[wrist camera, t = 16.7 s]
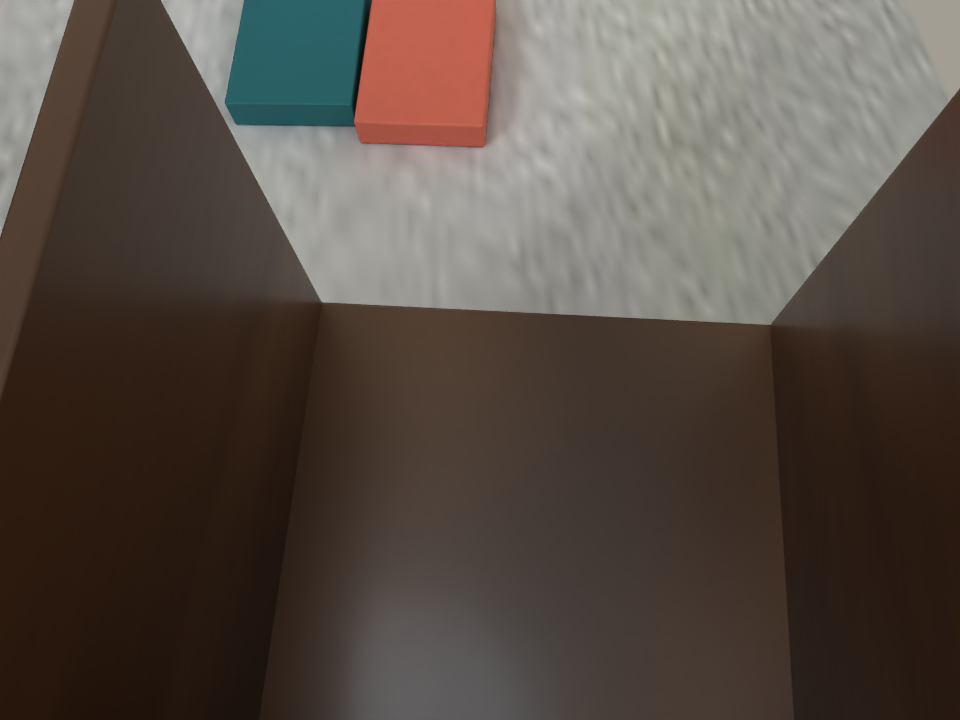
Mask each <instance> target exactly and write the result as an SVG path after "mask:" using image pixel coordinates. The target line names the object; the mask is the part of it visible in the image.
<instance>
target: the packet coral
mask: <svg viewBox="0 0 960 720" xmlns="http://www.w3.org/2000/svg"><path fill="white" fill-rule="evenodd" d="M495 18H496V0H372V4H371V11H370V17H369V24H368V31H367V37H366V44H365V51H364V57H363V64H362V71H361V78H360V84H359V91H358V98H357V104H356V111H355V118H354V123H355V127H356V130H357V133H358V136H359V140H360V142H362V143H389V144H418V145H447V146H475V147H483V146H484V145H485V142H486V129H487V117H488V105H489V92H490V80H491V68H492V55H493V43H494V31H495Z"/></svg>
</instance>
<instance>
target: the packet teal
mask: <svg viewBox="0 0 960 720" xmlns="http://www.w3.org/2000/svg"><path fill="white" fill-rule="evenodd" d="M371 4H372V0H244V5H243V10H242V15H241V20H240V26H239V31H238V36H237V41H236V47H235V52H234V57H233V62H232V68H231V73H230V78H229V83H228V89H227V94H226V99H225V105H226V106H227V108H228V110H229V112H230V114H231V116H232V118H233V120H234V121H235V123H236V124H253V125H322V126H355V123H354V118H355V111H356V104H357V98H358V91H359V84H360V78H361V71H362V64H363V57H364V51H365V44H366V37H367V31H368V24H369V17H370V11H371Z"/></svg>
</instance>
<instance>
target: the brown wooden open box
mask: <svg viewBox="0 0 960 720" xmlns="http://www.w3.org/2000/svg"><path fill="white" fill-rule="evenodd" d="M0 720H960V89H959V90H958V92H957V93H956V94H955V96H954V97H953V98H952V99H951V100H950V101H949V103H948V104H947V105H946V106H945V108H944V109H943V110H942V111H941V113H940V114H939V115H938V116H937V118H936V119H935V120H934V121H933V123H932V124H931V125H930V126H929V128H928V129H927V130H926V131H925V133H924V134H923V135H922V136H921V138H920V139H919V140H918V141H917V143H916V144H915V145H914V146H913V148H912V149H911V150H910V151H909V153H908V154H907V155H906V156H905V158H904V159H903V160H902V161H901V163H900V164H899V165H898V166H897V168H896V169H895V170H894V171H893V173H892V174H891V175H890V176H889V178H888V179H887V180H886V181H885V183H884V184H883V185H882V186H881V188H880V189H879V190H878V191H877V193H876V194H875V195H874V196H873V198H872V199H871V200H870V201H869V203H868V204H867V205H866V206H865V208H864V209H863V210H862V211H861V213H860V214H859V215H858V216H857V218H856V219H855V220H854V221H853V222H852V224H851V225H850V226H849V227H848V229H847V230H846V231H845V232H844V234H843V235H842V236H841V237H840V239H839V240H838V241H837V242H836V244H835V245H834V246H833V247H832V249H831V250H830V251H829V252H828V254H827V255H826V256H825V257H824V259H823V260H822V261H821V262H820V264H819V265H818V266H817V267H816V269H815V270H814V271H813V272H812V274H811V275H810V276H809V277H808V279H807V280H806V281H805V282H804V284H803V285H802V286H801V287H800V289H799V290H798V291H797V292H796V294H795V295H794V296H793V297H792V299H791V300H790V301H789V302H788V304H787V305H786V306H785V307H784V309H783V310H782V311H781V312H780V314H779V315H778V316H777V317H776V319H775V320H774V321H773V322H772V324H771V325H759V324H739V323H719V322H699V321H679V320H659V319H640V318H620V317H600V316H580V315H560V314H540V313H521V312H501V311H481V310H461V309H441V308H421V307H402V306H382V305H362V304H342V303H322V302H321V300H320V299H319V297H318V295H317V293H316V291H315V289H314V287H313V285H312V284H311V282H310V280H309V278H308V276H307V274H306V272H305V270H304V269H303V267H302V265H301V263H300V261H299V259H298V257H297V255H296V254H295V252H294V250H293V248H292V246H291V244H290V242H289V240H288V238H287V237H286V235H285V233H284V231H283V229H282V227H281V225H280V223H279V222H278V220H277V218H276V216H275V214H274V212H273V210H272V208H271V207H270V205H269V203H268V201H267V199H266V197H265V195H264V193H263V192H262V190H261V188H260V186H259V184H258V182H257V180H256V178H255V177H254V175H253V173H252V171H251V169H250V167H249V165H248V163H247V162H246V160H245V158H244V156H243V154H242V152H241V150H240V148H239V146H238V145H237V143H236V141H235V139H234V137H233V135H232V133H231V131H230V130H229V128H228V126H227V124H226V122H225V120H224V118H223V116H222V115H221V113H220V111H219V109H218V107H217V105H216V103H215V101H214V100H213V98H212V96H211V94H210V92H209V90H208V88H207V86H206V85H205V83H204V81H203V79H202V77H201V75H200V73H199V71H198V69H197V68H196V66H195V64H194V62H193V60H192V58H191V56H190V54H189V53H188V51H187V49H186V47H185V45H184V43H183V41H182V39H181V38H180V36H179V34H178V32H177V30H176V28H175V26H174V24H173V23H172V21H171V19H170V17H169V15H168V13H167V11H166V9H165V8H164V6H163V4H162V2H161V0H74V4H73V7H72V10H71V13H70V16H69V20H68V23H67V26H66V29H65V32H64V36H63V39H62V42H61V45H60V48H59V51H58V55H57V58H56V61H55V64H54V67H53V71H52V74H51V77H50V80H49V83H48V87H47V90H46V93H45V96H44V99H43V103H42V106H41V109H40V112H39V115H38V119H37V122H36V125H35V128H34V131H33V135H32V138H31V141H30V144H29V147H28V151H27V154H26V157H25V160H24V163H23V166H22V170H21V173H20V176H19V179H18V182H17V186H16V189H15V192H14V195H13V198H12V202H11V205H10V208H9V211H8V214H7V218H6V221H5V224H4V227H3V230H2V234H1V237H0Z"/></svg>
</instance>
